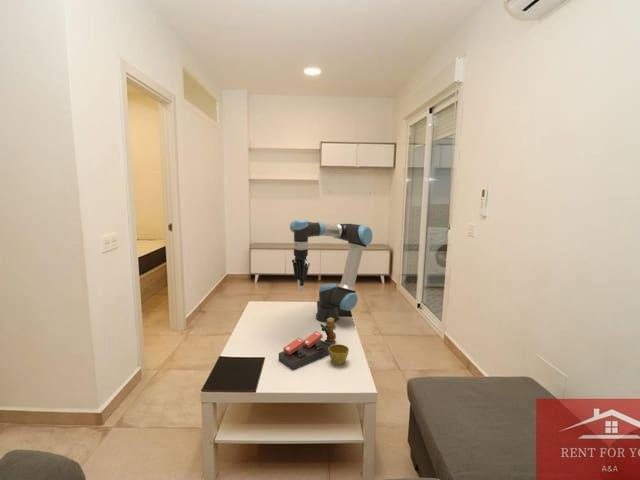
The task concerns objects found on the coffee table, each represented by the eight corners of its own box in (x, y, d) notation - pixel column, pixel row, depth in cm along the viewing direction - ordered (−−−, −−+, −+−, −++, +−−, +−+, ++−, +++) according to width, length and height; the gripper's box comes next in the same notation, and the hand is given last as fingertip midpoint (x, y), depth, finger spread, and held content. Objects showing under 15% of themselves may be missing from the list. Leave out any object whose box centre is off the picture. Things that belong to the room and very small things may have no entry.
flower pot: (328, 356, 175) (328, 343, 174) (347, 357, 175) (348, 344, 174) (327, 367, 165) (328, 353, 164) (348, 367, 165) (349, 354, 164)
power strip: (317, 345, 188) (318, 335, 187) (332, 353, 179) (333, 343, 178) (278, 360, 171) (278, 350, 170) (293, 370, 162) (293, 359, 161)
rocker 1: (299, 340, 177) (298, 337, 176) (305, 344, 173) (304, 340, 172) (283, 351, 171) (283, 347, 170) (289, 355, 167) (288, 351, 166)
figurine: (338, 341, 193) (339, 316, 191) (333, 346, 186) (334, 320, 184) (323, 338, 197) (324, 313, 194) (318, 343, 190) (318, 317, 188)
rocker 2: (316, 334, 184) (315, 330, 184) (322, 337, 181) (322, 334, 180) (302, 344, 179) (301, 341, 178) (309, 348, 175) (308, 345, 174)
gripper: (287, 247, 186) (287, 289, 189) (302, 251, 176) (302, 295, 180) (298, 246, 191) (298, 287, 194) (313, 249, 181) (313, 292, 185)
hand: (300, 291), depth 187 cm, fingers closed
